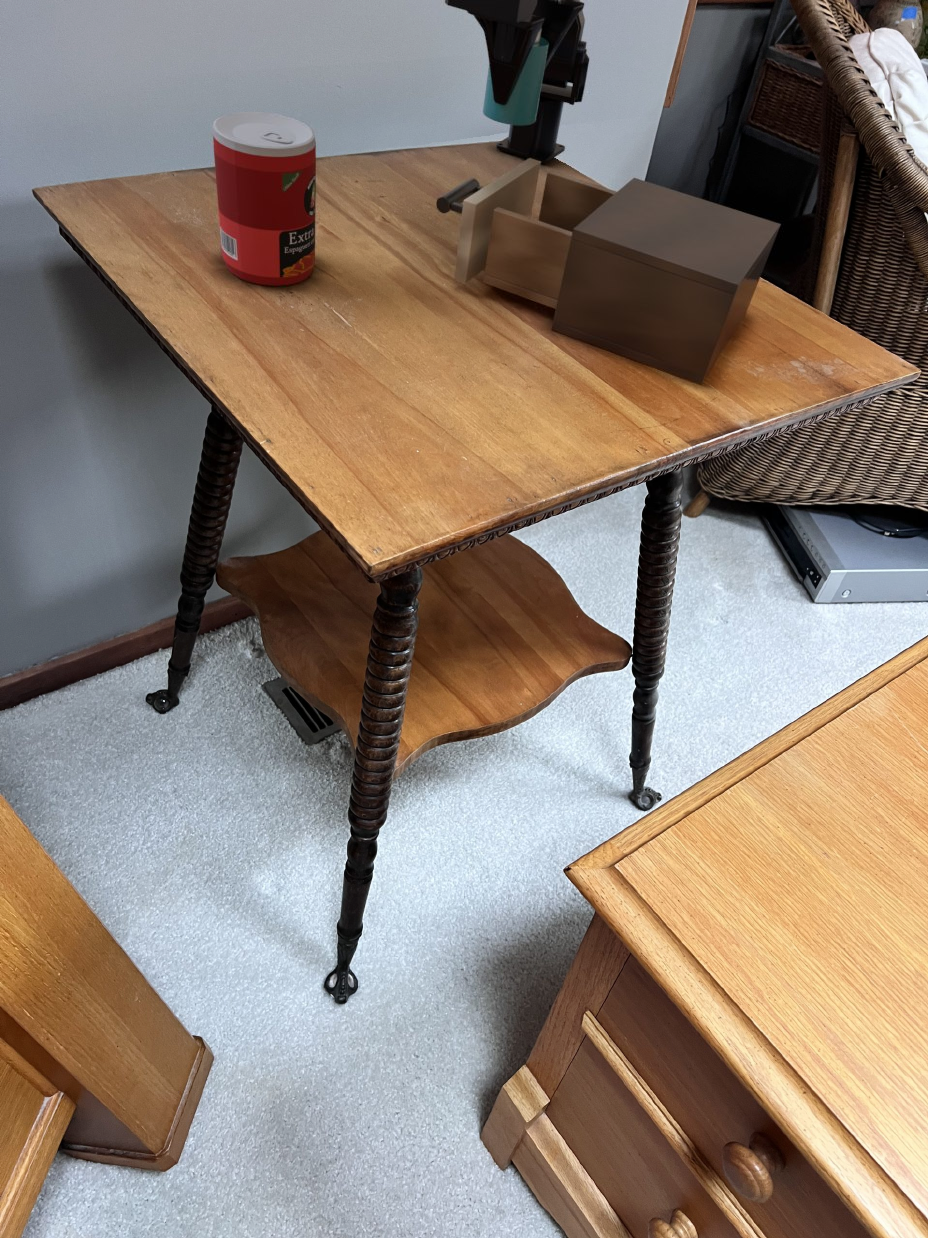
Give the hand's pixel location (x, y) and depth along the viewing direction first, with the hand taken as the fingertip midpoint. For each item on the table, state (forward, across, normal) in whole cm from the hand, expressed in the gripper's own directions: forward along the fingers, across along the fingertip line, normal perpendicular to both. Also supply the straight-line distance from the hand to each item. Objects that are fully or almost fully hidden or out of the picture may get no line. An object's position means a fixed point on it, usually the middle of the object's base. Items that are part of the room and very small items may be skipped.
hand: (512, 97), depth 76 cm
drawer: (+11, +6, +6) cm, 14 cm away
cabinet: (+12, +6, +19) cm, 23 cm away
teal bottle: (+2, 0, 0) cm, 2 cm away
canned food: (+13, +20, -12) cm, 26 cm away
